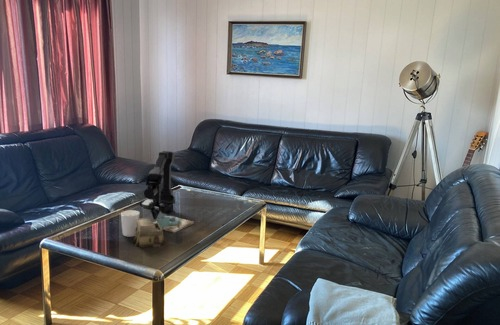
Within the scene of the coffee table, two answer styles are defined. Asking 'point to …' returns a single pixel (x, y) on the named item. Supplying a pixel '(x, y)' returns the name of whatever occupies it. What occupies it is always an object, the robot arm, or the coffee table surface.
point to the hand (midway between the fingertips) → (154, 219)
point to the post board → (179, 225)
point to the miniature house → (148, 233)
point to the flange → (167, 221)
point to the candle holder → (129, 222)
